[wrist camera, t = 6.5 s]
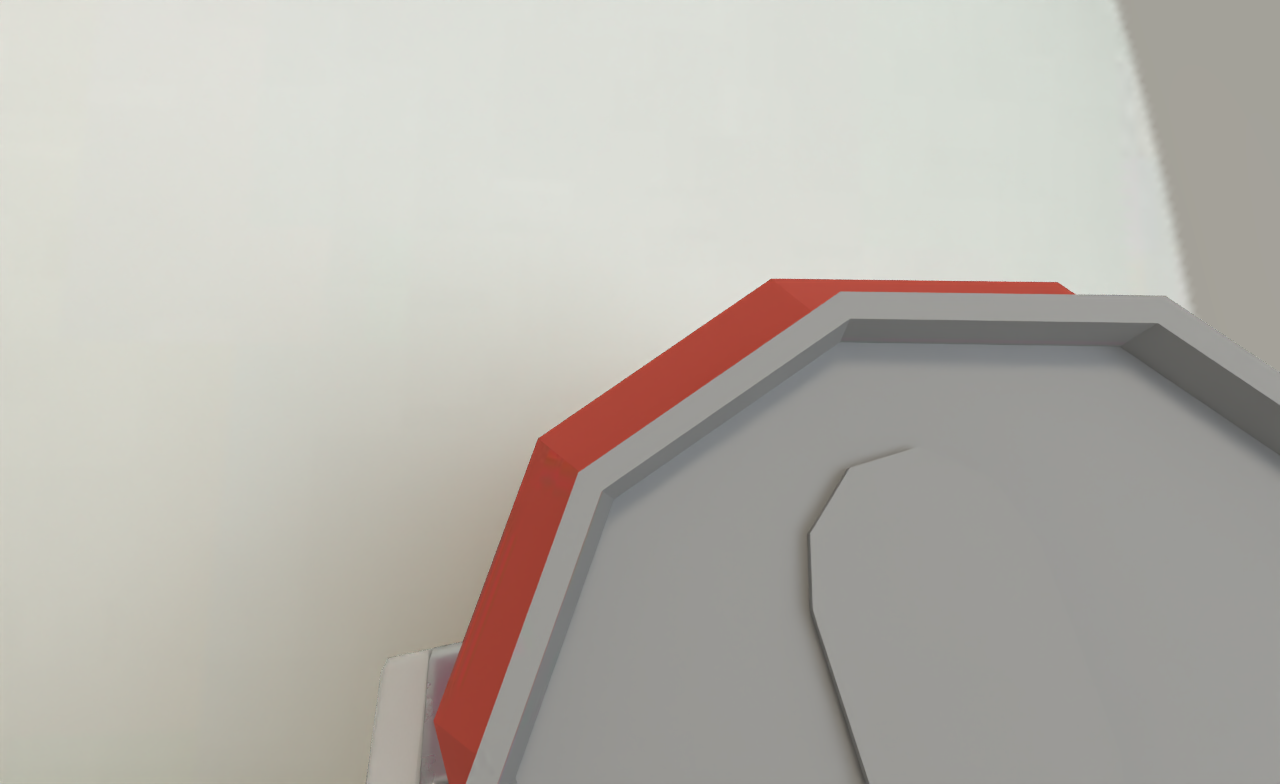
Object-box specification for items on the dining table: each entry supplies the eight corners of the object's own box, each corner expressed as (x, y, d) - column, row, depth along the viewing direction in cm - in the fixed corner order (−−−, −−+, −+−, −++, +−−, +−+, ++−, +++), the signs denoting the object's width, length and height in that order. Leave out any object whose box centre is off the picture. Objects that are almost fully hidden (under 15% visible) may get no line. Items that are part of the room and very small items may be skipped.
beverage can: (865, 392, 16) (1358, 24, 5) (985, 736, 15) (2024, 1406, 4) (554, 486, 16) (243, 357, 5) (653, 837, 15) (584, 1863, 3)
